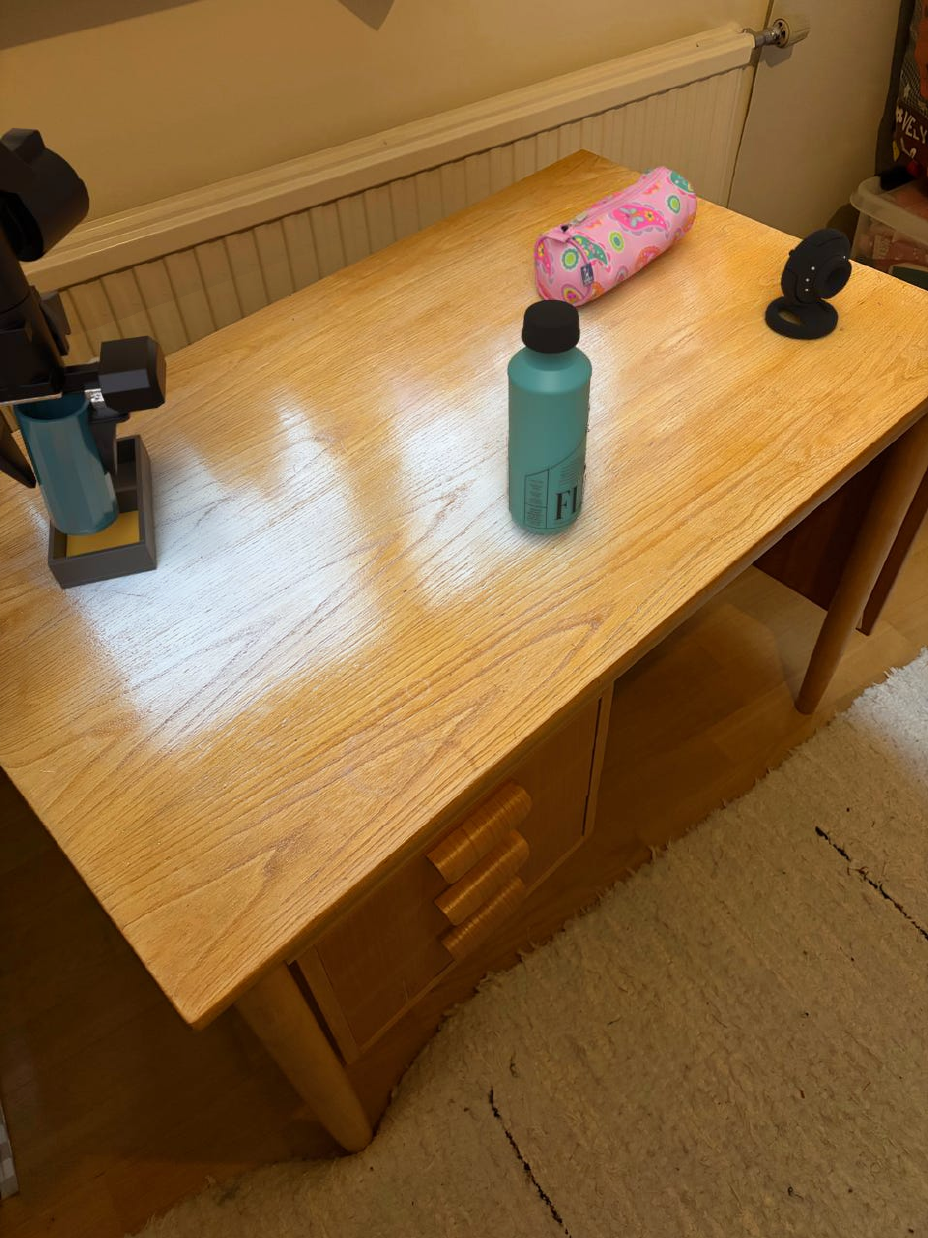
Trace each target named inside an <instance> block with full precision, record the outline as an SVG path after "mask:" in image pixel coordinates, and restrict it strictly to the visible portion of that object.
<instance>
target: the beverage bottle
mask: <svg viewBox="0 0 928 1238" xmlns="http://www.w3.org/2000/svg"><path fill="white" fill-rule="evenodd" d="M520 336H521V342H522V343H523V345H524V346H523V347H522V348H520V349H519V350H518V351H517V352H515V354H513V356H511V358H510V359H509V361H508V364H507V367H506V368H507V371H506V372H507V379H508V380H507V382H508V384H507V385H508V387H507V388H508V389H507V390H508V393H507V395H508V396H507V397H508V400H507V401H508V404H507V405H508V406H507V407H508V409H507V410H508V411H507V412H508V433H507V435H508V436H507V435H506V436H507V438H506V441H507V451H505V452H506V453H505V454H507V456H506V457H505V462H506V463H505V465H506V469H507V470H506V473H505V475H506V491H507V496H508V498H506V501H508V506H506V507H507V509H508V512H509V513H510V515H511V518H512V520H513V521H514V522H515V523H516V524H517V525H518V526H519V527H521V528H523V529H524V530H526V531H529V532H532V533H536V534H556V533H559V532H563V531H565V530H567V529H569V528H570V527H572V526H573V525H574V524H575V523H576V521H577V520H578V518H579V517H580V515H582V511H583V509H584V508H582V506H583V505H584V497H585V496H584V495H585V490H586V488H585V485H586V480H587V479H586V476H587V473H586V470H587V469H586V468H587V463H586V458H587V440H588V433H590V429H589V428H588V427H589V426H590V420H589V418H590V414H591V403H592V402H591V400H590V398H591V396H590V394H591V393H590V392H591V380H592V376H593V365H592V361H591V360H590V358H589V357H588V355H586V354H585V353H584V351H582V350H581V349H580V348H578V346H577V345H578V344H579V342H580V339H581V329H580V313H579V310H578V308H577V306H576V307H575V306H573V305H572V304H570V303H568V302H565V301H562V300H554V299H549V300H545V299H543V300H538V301H536V302H534V303H532V304H530V305H529V306H528V307H527V308H526V309H525V310H524V312H523V318H522V328H521V335H520Z"/></svg>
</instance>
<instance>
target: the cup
mask: <svg viewBox="0 0 928 1238" xmlns="http://www.w3.org/2000/svg"><path fill="white" fill-rule="evenodd" d="M89 404H90V399H87V397H86V394H85V393H79V394H73V395H66V396H63V397H61V398H56V399H49V400H42V401H35V402H28V403H22V404H15V405H12V411H13V414H14V417H15V420H16V423H17V426H18V428H19V432H20V435H21V437H22V440H23V444H24V447H25V449H26V453H27V456H28V458H29V461H30V465H31V468H32V471H33V473H34V476H35V478H36V483H37V485H38V488H39V490H40V493H41V497H42V499H43V503H44V506H45V508H46V511H47V514H48V517H49V520H50V519H51V521H52V523H53V525H54V526H55V527H56V528H57V529H58V530H59V531H61V532H63V533H66V534H70V535H78V536H81V535H90V534H94V533H98V532H100V531H103V530H104V529H106V528H108V527H109V526H111V525H112V524H113V523H114V522H115V520H116V519H117V517H118V515H119V506H118V502H117V498H116V494H115V490H114V486H113V482H112V478H111V475H110V473H109V472H108V470H107V469H106V467H105V466H104V463H103V461H102V458H101V456H100V453H99V451H98V448H97V446H96V444H95V441H94V439H93V436H92V434H91V431H90V429H89V426H88V424H87V420H88V412H89Z"/></svg>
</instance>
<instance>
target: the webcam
mask: <svg viewBox="0 0 928 1238" xmlns="http://www.w3.org/2000/svg"><path fill="white" fill-rule="evenodd" d="M850 257H851V242H850V239H849V238H848V237H847V234H845V233H844V232H843V231H841V229H840V230H839V229H834V228H831V227H826V228H820V229H818V230H815V231H813V232H811V233H810V234H809V235H808V236H807V237H805V238H803V239H802V240H801V241H800V242H799V243H798V244H797V245H796V246H795V247H794V249H793V248H792V249H790V250H789V251H788V258H787V260H786V262H785V264H784V266H783V269H782V272H781V277H780V288H781V293H782V296H779V297H777V298H775V299H774V300H772V301H771V302H769V303H768V305H767V307H766V309H765V312H764V313H765V314H764V315H765V316H764V318H765V322H766V324H767V325H768V326H769V327H770V328H771V329H772V331H775V332H776V333H778V334H780V335H781V336H784V337H788V338H791V339H796V340H797V339H798V340H816V339H821V338H824V337H826V336H828V335H830V334H831V333H833V331H835V329H836V328H837V327H838V323H839V313H838V311H837V309H836V308H835V307H834V305H832V304H831V303H830V302H828V301H827V300H829V299H832V298H834V297H836V295H838V294H839V293H841V291H842V290H844V288H845V287H846V285H847V284H848V282H849V280H850V278H851V276H852V271H853V265H852V263H851V262H850ZM785 310H787V311H790V312H791V313H793V314H794V315H795V316H797V317H798V318H799V319H800V320H801V322H802V324H801V323H795V322H791V321H789V320H788V319H786V318H784V317H782V315H781V314H780V313H781V312H783V311H785Z"/></svg>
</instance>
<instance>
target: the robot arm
mask: <svg viewBox="0 0 928 1238" xmlns="http://www.w3.org/2000/svg"><path fill="white" fill-rule="evenodd" d="M89 210H90V196H89V192H88V188H87V185H86V184H85V181H84V179H82V178H81V177H80V176H79V175H78V173H77V171H76V170H75V169H74V168H73V166H72V165H70V163H69V162H68V161H67V160H66V159H64V158H63V157H62V156H61V155H60V154H58V152H55V151H54V150H52V149H50V148H49V147H47V146H46V145H45V142H44V139H43V137H42V134H41V131H40V130H38V129H34V128H21V127H20V128H19V127H18V128H17V127H12V128H10V129H9V130H7V131H6V132H5V133H4V134H3V135H2V136H1V137H0V408H1V407H6V406H13V405H15V404H22V403H28V402H35V401H42V400H49V399H56V398H61V397H63V396H66V395H73V394H79V393H85V394H86V397H87V399H90V404H89V412H88V420H87V424H88V426H89V429H90V431H91V434H92V436H93V439H94V441H95V444H96V446H97V448H98V451H99V453H100V456H101V458H102V461H103V463H104V466H105V467H106V469H107V470H108V472H109V473H110V475H111V476H116V475H117V447H116V439H117V425H118V424H122V423H125V422H126V423H127V422H128V421H129V420H130V418H131V415H132V413H135V412H143V411H148V410H149V411H150V410H156V409H157V410H158V409H159V408H160V407H162V406H163V405H164V404H166V393H167V392H166V391H167V362H166V361H167V360H166V358H165V355H164V352H163V350H162V347H161V344H160V343H159V342H157V341H156V340H155V339H153V338H152V337H151V336H149V335H142V336H141V335H140V336H133V337H127V338H119V339H113V340H112V339H111V340H106V341H101V344H100V345H101V346H100V352H99V356H94V357H92V358H89V359H88V360H87V361H86V362H85V363H80V364H73V365H65V362H64V359H63V358H62V357H66V356H69V353H70V347H71V346H70V343H69V341H68V339H67V336H71V335H72V329H71V327H70V323H69V320H68V317H67V314H66V310H65V308H64V305H63V302H62V299H61V296H60V295H61V294H60V292H59V291H57V290H53V291H43V292H39V290H37V288H36V286H35V284H33V285H32V284H31V285H30V283H29V280H28V279H27V276H26V274H25V271H24V270H23V267H22V265H21V262H22V263H32V262H37V261H38V260H40V259H42V258H43V257H44V256H45V255H47V254H48V253H49V252H50V251H51V250H52V249H53V248H54V247H55V246H56V245H58V244H59V243H60V242H61V241H62V240H63V239H64V238H65V237H66V236H68V235H69V234H70V233H71V232H72V231H73V230H75V229H76V227H78V226H79V225H80V224H81V223H83V221H84V220H85V218H86V217H87V216H88V214H89ZM0 472H2V473H4V474H5V475H7V476H8V477H10V478H11V479H12V480H15V481H16V482H18V483H20V484H21V485H23V486H24V487H26V488H27V489H29V490H34V489H36V486H37V479H36V476H35V473H34V470H33V468H32V465H31V463H29V461H28V459H27V458H26V456H25V455H24V453H23V451H22V450H21V448H20V446H19V444H18V443H17V441H16V440H15V438H14V436H13V435H12V433H11V431H10V430H9V428H8V426H7V425H6V423H5V421H4V419H3V416H2V414H1V413H0Z"/></svg>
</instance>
